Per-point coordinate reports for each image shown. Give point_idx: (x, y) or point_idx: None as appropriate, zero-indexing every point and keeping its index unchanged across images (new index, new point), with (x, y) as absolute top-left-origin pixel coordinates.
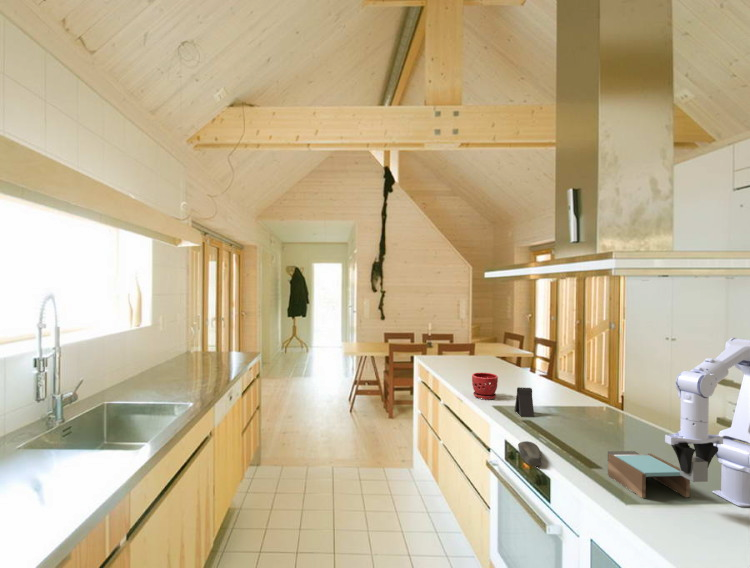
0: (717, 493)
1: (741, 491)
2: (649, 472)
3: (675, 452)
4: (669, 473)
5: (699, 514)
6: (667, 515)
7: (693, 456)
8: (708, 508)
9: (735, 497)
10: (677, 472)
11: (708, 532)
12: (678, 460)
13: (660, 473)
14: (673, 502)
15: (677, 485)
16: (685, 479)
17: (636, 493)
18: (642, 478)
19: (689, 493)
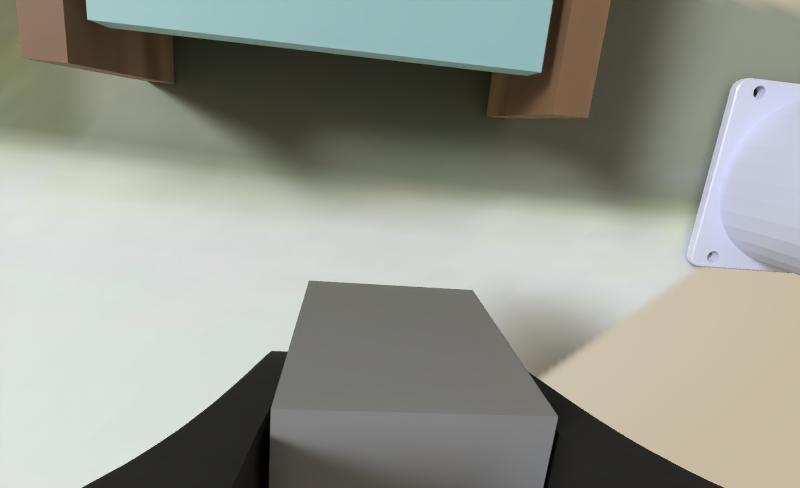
0: (730, 121)
1: (796, 265)
2: (155, 22)
3: (102, 485)
4: (398, 58)
5: None
6: (162, 290)
7: (495, 456)
8: (493, 249)
9: (740, 230)
10: (490, 68)
11: None
12: (212, 405)
13: (294, 44)
14: (339, 159)
15: None
16: (531, 103)
17: None
18: (55, 63)
19: (518, 118)
